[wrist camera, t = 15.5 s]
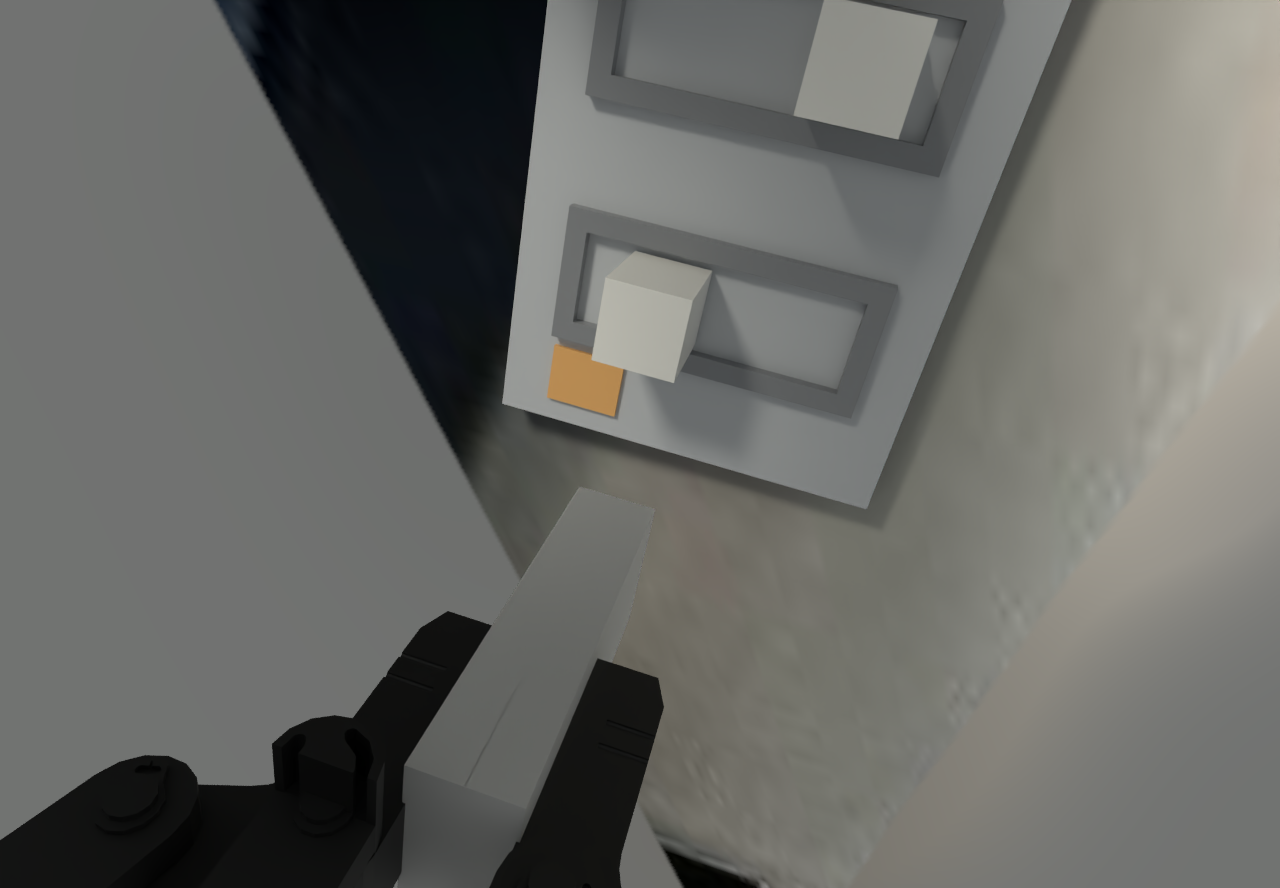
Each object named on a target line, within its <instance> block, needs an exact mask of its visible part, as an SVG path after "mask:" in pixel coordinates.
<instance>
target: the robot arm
mask: <svg viewBox="0 0 1280 888" xmlns="http://www.w3.org/2000/svg"><path fill="white" fill-rule="evenodd" d="M654 513H655V509H654V508H650V507H647V506H644V505H640V504H637V503H634V502H630V501H627V500H624V499H620V498H617V497H614V496H610V495H607V494H604V493H600V492H597V491H594V490H590V489H587V488H584V487H579V488H578V490H577V491H576V493H575V494H574V496H573V498H572V499H571V501H570V502H569V504H568V506H567V507H566V509H565V510H564V512H563V514H562V515H561V517H560V518H559V520H558V521H557V523H556V525H555V526H554V528H553V529H552V531H551V533H550V534H549V536H548V537H547V539H546V541H545V542H544V544H543V545H542V547H541V549H540V550H539V552H538V553H537V555H536V556H535V558H534V560H533V561H532V563H531V564H530V566H529V568H528V569H527V571H526V572H525V574H524V576H523V577H522V579H521V580H520V582H519V583H518V585H517V587H516V588H515V590H514V591H513V593H512V595H511V596H510V598H509V600H508V601H507V603H506V604H505V606H504V607H503V609H502V610H501V612H500V614H499V615H498V617H497V618H496V620H495V622H494V623H493V625H489V624H486V623H483V622H480V621H477V620H474V619H470V618H467V617H464V616H461V615H458V614H455V613H452V612H449V611H447V612H446V613H444V614H442V615H441V616H439V617H438V618H436V619H434V620H433V621H431V622H429V623H428V624H426V625H425V626H423V627H421V628H420V629H419V631H418V632H417V634H416V635H415V636H414V637H413V639H412V640H411V642H410V643H409V644H408V645H407V647H406V648H405V649H404V651H403V652H402V655H401V657H398V659H397V660H396V661H395V663H394V664H393V665H392V667H391V668H390V669H389V671H388V673H387V675H386V677H383V679H382V680H381V681H380V683H379V684H378V685H377V687H376V688H375V689H374V691H373V692H372V693H371V695H370V696H369V697H368V699H367V700H366V701H365V703H364V704H363V705H362V707H361V708H360V709H359V711H358V712H357V713H356V715H355V716H354V717H353V718H347V717H342V716H335V715H334V716H327V717H321V718H313V719H310V720H308V721H305V722H303V723H301V724H299V725H297V726H294V727H292V728H290V729H289V730H288V731H286V732H285V733H284V734H283V735H282V736H280V737H279V738H278V739H277V740H276V741H275V742H274V743H272V749H273V764H274V777H275V783H273V784H269V785H257V786H230V785H198V782H197V777H196V776H195V774H194V773H193V772H192V770H191V769H190V768H189V767H188V765H187V764H186V763H184V762H181V761H179V760H176V759H174V758H172V757H169V756H150V755H147V756H146V755H145V756H141V757H137V758H133V759H129V760H125V761H121V762H118V763H117V764H115V765H113V766H111V767H109V768H107V769H105V770H103V771H101V772H99V773H98V774H96V775H94V776H93V777H91V778H90V779H88V780H87V781H86V782H84V783H83V784H81V785H80V786H78V787H77V788H75V789H74V790H72V791H71V792H69V793H68V794H67V795H65V796H64V797H62V798H61V799H59V800H58V801H56V802H55V803H54V804H52V805H51V806H49V807H48V808H46V809H45V810H43V811H42V812H41V813H39V814H38V815H36V816H35V817H33V818H32V819H30V820H29V821H27V822H26V823H25V824H23V825H22V826H20V827H19V828H17V829H16V830H14V831H13V832H12V833H10V834H9V835H7V836H6V837H4V838H3V839H1V840H0V888H393V887H394V884H395V883H396V881H397V880H398V887H397V888H621V883H620V872H619V867H620V860H621V854H622V850H623V847H624V843H625V840H626V836H627V833H628V829H629V826H630V822H631V819H632V815H633V812H634V809H635V805H636V802H637V798H638V795H639V791H640V788H641V784H642V781H643V777H644V774H645V770H646V767H647V764H648V760H649V757H650V753H651V750H652V746H653V743H654V739H655V736H656V732H657V729H658V726H659V722H660V719H661V715H662V712H663V708H664V705H663V700H662V695H661V690H660V685H659V680H658V678H656V677H653V676H650V675H647V674H644V673H641V672H638V671H635V670H632V669H629V668H626V667H623V666H620V665H617V664H614V663H612V660H613V658H614V655H615V653H616V650H617V648H618V645H619V643H620V640H621V638H622V635H623V633H624V630H625V628H626V625H627V623H628V620H629V617H630V613H631V609H632V605H633V601H634V596H635V592H636V588H637V584H638V580H639V576H640V571H641V567H642V563H643V559H644V555H645V550H646V546H647V542H648V538H649V534H650V530H651V525H652V521H653V517H654Z"/></svg>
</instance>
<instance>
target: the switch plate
mask: <svg viewBox="0 0 1280 888" xmlns="http://www.w3.org/2000/svg"><path fill="white" fill-rule="evenodd" d="M848 1H853V2H858V3H862V4H867V5H872V6H877V7H882V8H887V9H891V10H896V11H901V12H906V13H911V14H915V15H920V16H925V17H930V18H935V19H938V21H937V24H936V27H935V30H934V33H933V36H932V39H931V42H930V45H929V48H928V51H927V54H926V57H925V60H924V63H923V66H922V69H921V72H920V75H919V78H918V81H917V84H916V87H915V90H914V94H913V97H912V100H911V103H910V106H909V109H908V112H907V115H906V118H905V121H904V124H903V127H902V130H901V133H900V136H899V139H893V138H889V137H884V136H880V135H876V134H871V133H867V132H863V131H858V130H854V129H850V128H845V127H841V126H836V125H832V124H828V123H823V122H819V121H815V120H810V119H806V118H802V117H797V116H793V115H794V111H795V107H796V104H797V100H798V96H799V92H800V89H801V85H802V81H803V77H804V74H805V70H806V66H807V62H808V58H809V55H810V51H811V47H812V43H813V40H814V36H815V32H816V28H817V25H818V21H819V17H820V13H821V9H822V6H823V2H824V0H548V3H547V12H546V21H545V30H544V38H543V47H542V56H541V65H540V74H539V83H538V92H537V101H536V110H535V118H534V127H533V136H532V145H531V154H530V163H529V172H528V181H527V190H526V199H525V207H524V216H523V225H522V234H521V243H520V252H519V261H518V270H517V279H516V287H515V296H514V305H513V314H512V323H511V332H510V341H509V350H508V359H507V368H506V376H505V385H504V394H503V403H502V404H506V405H509V406H512V407H516V408H519V409H523V410H526V411H530V412H533V413H537V414H540V415H543V416H547V417H550V418H554V419H557V420H561V421H564V422H567V423H571V424H574V425H578V426H581V427H585V428H588V429H592V430H595V431H598V432H602V433H605V434H609V435H612V436H616V437H619V438H622V439H626V440H629V441H633V442H636V443H640V444H643V445H646V446H650V447H653V448H657V449H660V450H664V451H667V452H671V453H674V454H677V455H681V456H684V457H688V458H691V459H695V460H698V461H701V462H705V463H708V464H712V465H715V466H719V467H722V468H725V469H729V470H732V471H736V472H739V473H743V474H746V475H750V476H753V477H756V478H760V479H763V480H767V481H770V482H774V483H777V484H780V485H784V486H787V487H791V488H794V489H798V490H801V491H805V492H808V493H811V494H815V495H818V496H822V497H825V498H829V499H832V500H835V501H839V502H842V503H846V504H849V505H853V506H856V507H859V508H863V509H867V507H868V504H869V502H870V500H871V497H872V495H873V492H874V490H875V487H876V485H877V482H878V480H879V477H880V475H881V472H882V470H883V467H884V465H885V462H886V460H887V457H888V455H889V452H890V450H891V447H892V445H893V442H894V440H895V437H896V435H897V433H898V430H899V428H900V425H901V423H902V420H903V418H904V415H905V413H906V410H907V408H908V405H909V403H910V400H911V398H912V395H913V393H914V390H915V388H916V385H917V383H918V380H919V378H920V375H921V373H922V370H923V368H924V365H925V363H926V361H927V358H928V356H929V353H930V351H931V348H932V346H933V343H934V341H935V338H936V336H937V333H938V331H939V328H940V326H941V323H942V321H943V318H944V316H945V313H946V311H947V308H948V306H949V303H950V301H951V298H952V296H953V293H954V291H955V289H956V286H957V284H958V281H959V279H960V276H961V274H962V271H963V269H964V266H965V264H966V261H967V259H968V256H969V254H970V251H971V249H972V246H973V244H974V241H975V239H976V236H977V234H978V231H979V229H980V226H981V224H982V221H983V219H984V217H985V214H986V212H987V209H988V207H989V204H990V202H991V199H992V197H993V194H994V192H995V189H996V187H997V184H998V182H999V179H1000V177H1001V174H1002V172H1003V169H1004V167H1005V164H1006V162H1007V159H1008V157H1009V154H1010V152H1011V149H1012V147H1013V145H1014V142H1015V140H1016V137H1017V135H1018V132H1019V130H1020V127H1021V125H1022V122H1023V120H1024V117H1025V115H1026V112H1027V110H1028V107H1029V105H1030V102H1031V100H1032V97H1033V95H1034V92H1035V90H1036V87H1037V85H1038V82H1039V80H1040V77H1041V75H1042V73H1043V70H1044V68H1045V65H1046V63H1047V60H1048V58H1049V55H1050V53H1051V50H1052V48H1053V45H1054V43H1055V40H1056V38H1057V35H1058V33H1059V30H1060V28H1061V25H1062V23H1063V20H1064V18H1065V15H1066V13H1067V10H1068V8H1069V6H1070V3H1071V1H1072V0H848ZM635 251H638V252H642V253H646V254H650V255H653V256H657V257H661V258H665V259H669V260H673V261H677V262H680V263H684V264H688V265H692V266H696V267H700V268H704V269H708V270H711V271H712V275H711V279H710V283H709V287H708V292H707V296H706V300H705V304H704V308H703V312H702V317H701V321H700V325H699V329H698V333H697V337H696V342H695V345H694V347H693V349H692V351H691V353H690V355H689V356H688V358H687V360H686V362H685V364H684V365H683V367H682V369H681V371H680V373H679V375H678V376H677V378H676V380H675V382H674V383H672V382H668V381H664V380H661V379H657V378H654V377H650V376H646V375H643V374H639V373H636V372H632V371H629V370H625V369H621V368H618V367H614V366H611V365H607V364H603V363H600V362H596V361H593V360H591V359H592V353H593V347H594V341H595V336H596V330H597V324H598V318H599V312H600V306H601V300H602V295H603V289H604V283H605V277H607V276H608V275H609V274H610V273H611V272H612V271H613V270H614V269H616V268H617V267H618V266H619V265H620V264H621V263H622V262H623V261H624V260H626V259H627V258H628V257H629V256H630V255H631V254H632V253H633V252H635Z"/></svg>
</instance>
